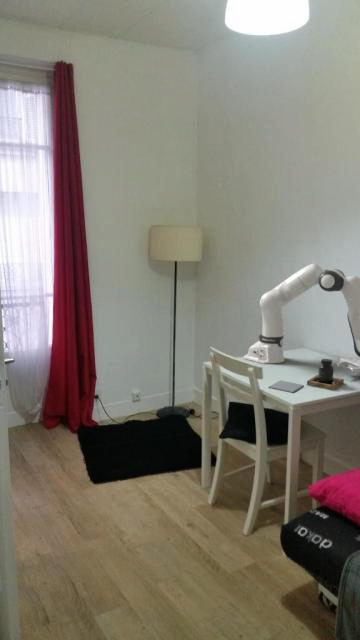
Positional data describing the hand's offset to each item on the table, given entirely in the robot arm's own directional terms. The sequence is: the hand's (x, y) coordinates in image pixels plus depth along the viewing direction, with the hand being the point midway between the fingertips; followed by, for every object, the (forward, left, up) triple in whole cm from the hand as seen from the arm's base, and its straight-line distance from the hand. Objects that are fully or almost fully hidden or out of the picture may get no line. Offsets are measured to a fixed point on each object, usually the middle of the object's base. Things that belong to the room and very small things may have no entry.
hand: (344, 367), depth 256 cm
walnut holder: (-5, -10, -7) cm, 13 cm away
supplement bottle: (-5, -10, -7) cm, 13 cm away
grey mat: (-18, -25, -7) cm, 32 cm away
